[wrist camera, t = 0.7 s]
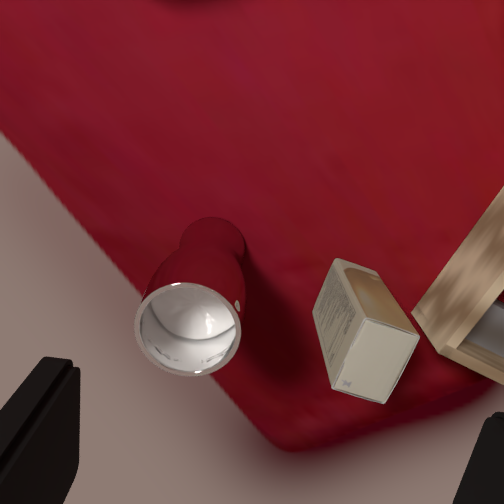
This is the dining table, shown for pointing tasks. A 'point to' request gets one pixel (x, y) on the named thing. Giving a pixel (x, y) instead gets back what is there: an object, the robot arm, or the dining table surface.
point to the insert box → (470, 299)
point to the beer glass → (195, 302)
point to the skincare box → (362, 332)
